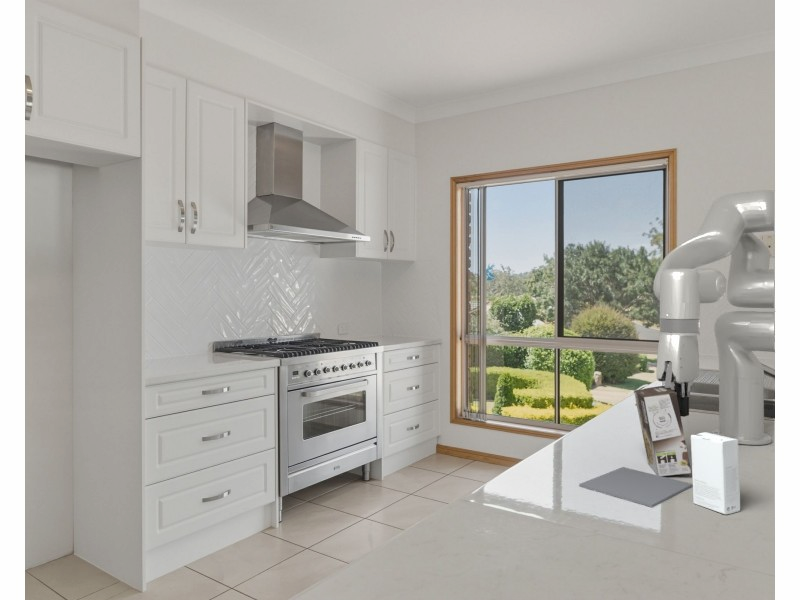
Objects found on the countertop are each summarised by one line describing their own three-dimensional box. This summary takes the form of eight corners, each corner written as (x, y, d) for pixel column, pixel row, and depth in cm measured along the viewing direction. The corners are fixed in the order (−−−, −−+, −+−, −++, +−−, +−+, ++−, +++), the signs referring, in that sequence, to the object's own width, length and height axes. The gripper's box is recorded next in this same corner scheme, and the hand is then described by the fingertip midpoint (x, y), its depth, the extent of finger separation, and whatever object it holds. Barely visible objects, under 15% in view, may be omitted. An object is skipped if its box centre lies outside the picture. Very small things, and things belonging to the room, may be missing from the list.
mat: (622, 468, 117) (622, 466, 117) (692, 486, 106) (692, 484, 106) (579, 486, 107) (579, 484, 107) (651, 507, 96) (651, 504, 96)
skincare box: (741, 511, 94) (741, 438, 94) (724, 516, 92) (723, 442, 92) (707, 499, 99) (707, 430, 99) (690, 503, 97) (689, 433, 97)
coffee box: (693, 473, 110) (677, 392, 110) (658, 477, 111) (642, 396, 112) (679, 459, 119) (664, 384, 119) (647, 463, 120) (632, 389, 121)
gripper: (677, 325, 125) (677, 408, 126) (644, 328, 116) (644, 417, 116) (713, 327, 120) (713, 413, 120) (681, 329, 110) (681, 423, 110)
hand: (679, 415), depth 118 cm, fingers closed
